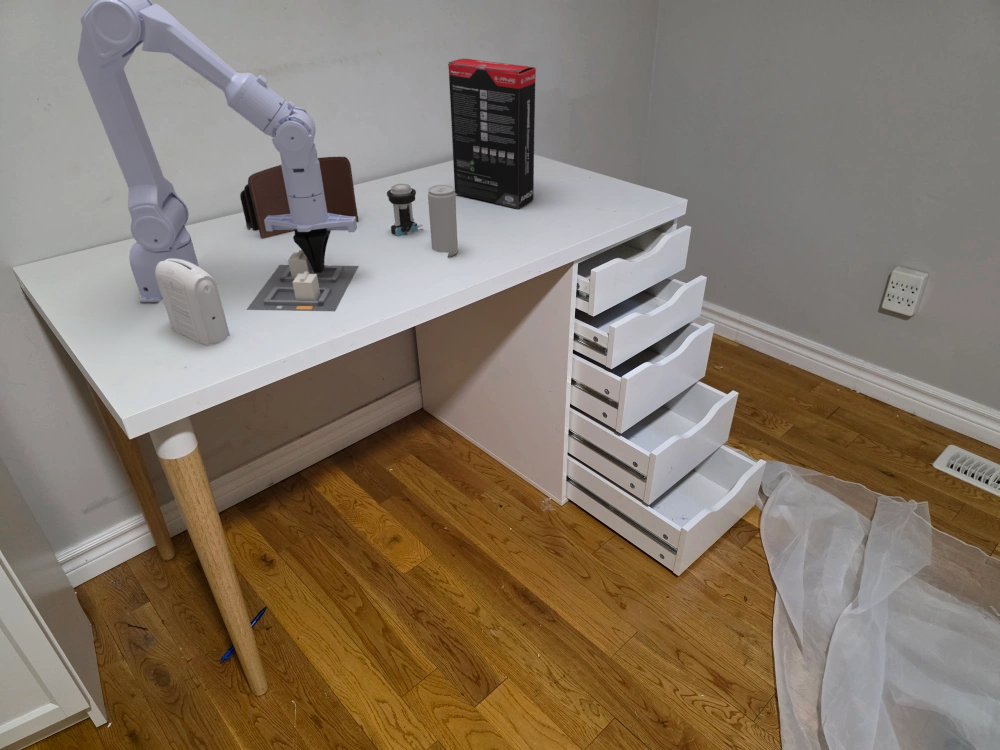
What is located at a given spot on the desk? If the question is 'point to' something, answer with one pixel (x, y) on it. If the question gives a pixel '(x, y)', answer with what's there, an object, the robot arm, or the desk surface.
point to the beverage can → (443, 219)
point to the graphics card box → (493, 130)
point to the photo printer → (192, 301)
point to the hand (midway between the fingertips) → (319, 270)
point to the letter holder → (271, 198)
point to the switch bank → (283, 297)
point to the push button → (402, 209)
